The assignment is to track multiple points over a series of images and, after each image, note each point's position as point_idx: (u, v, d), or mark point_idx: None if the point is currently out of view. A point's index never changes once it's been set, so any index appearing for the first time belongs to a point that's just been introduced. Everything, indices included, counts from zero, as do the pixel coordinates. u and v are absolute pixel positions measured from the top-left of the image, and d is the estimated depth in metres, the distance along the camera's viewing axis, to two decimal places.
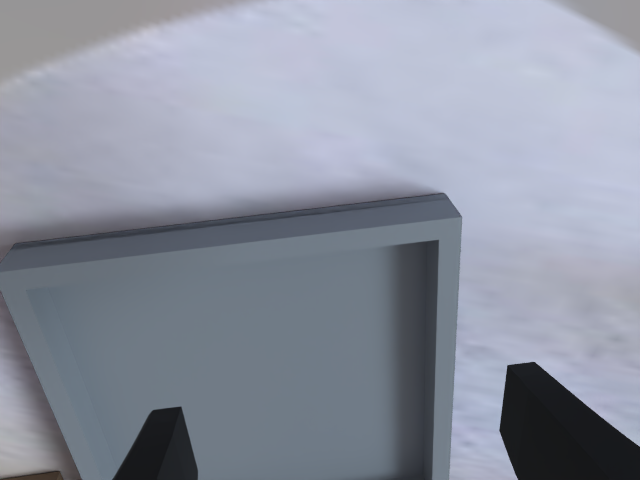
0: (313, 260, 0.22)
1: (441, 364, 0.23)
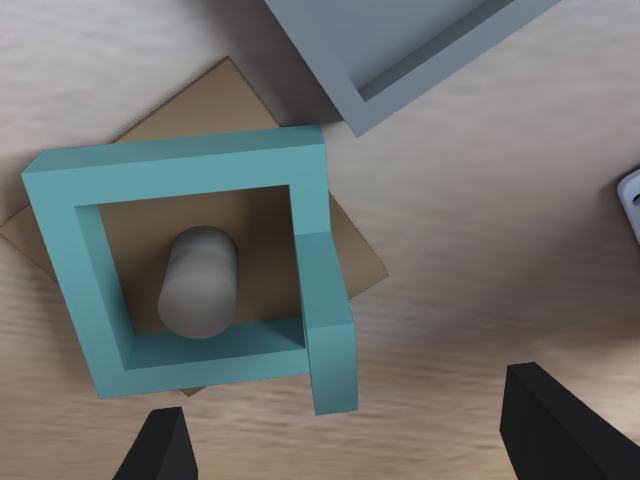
0: None
1: None
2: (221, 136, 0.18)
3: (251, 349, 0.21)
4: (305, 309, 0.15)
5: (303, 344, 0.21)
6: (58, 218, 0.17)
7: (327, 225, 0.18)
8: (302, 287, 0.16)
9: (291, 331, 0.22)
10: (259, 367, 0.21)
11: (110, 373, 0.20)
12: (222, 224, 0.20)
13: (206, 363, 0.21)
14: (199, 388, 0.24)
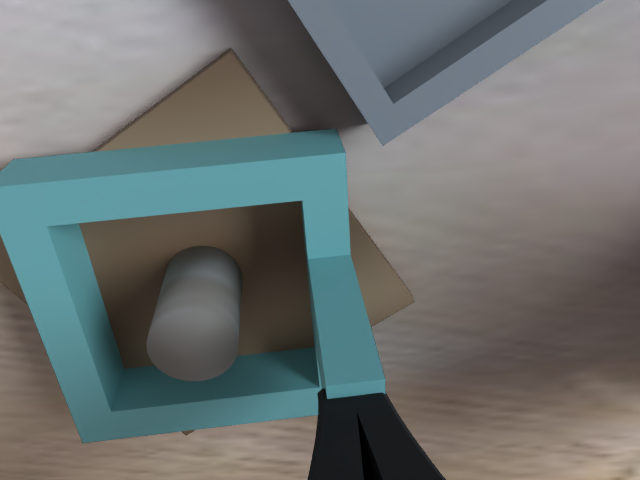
0: None
1: None
2: (222, 143, 0.16)
3: (257, 387, 0.18)
4: (323, 358, 0.12)
5: (316, 381, 0.18)
6: (29, 240, 0.15)
7: (347, 248, 0.16)
8: (319, 328, 0.13)
9: (302, 365, 0.19)
10: (266, 407, 0.18)
11: (94, 415, 0.18)
12: (223, 244, 0.17)
13: (204, 404, 0.18)
14: None
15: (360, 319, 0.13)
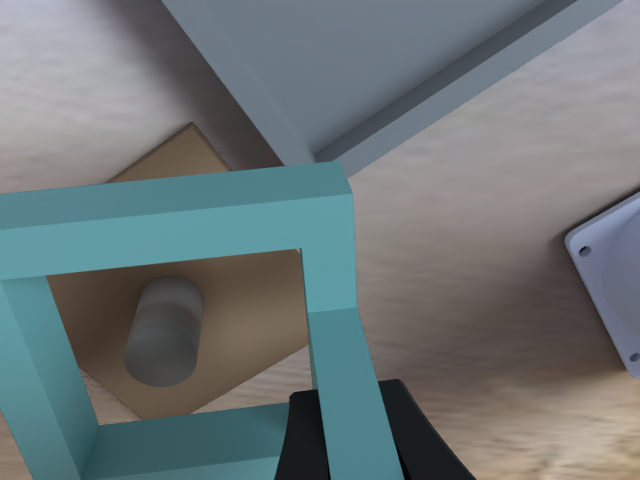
0: None
1: None
2: (208, 178, 0.13)
3: (249, 450, 0.16)
4: (329, 453, 0.10)
5: None
6: None
7: (353, 300, 0.13)
8: (322, 409, 0.11)
9: None
10: (259, 473, 0.16)
11: None
12: (188, 274, 0.21)
13: (189, 470, 0.16)
14: None
15: (372, 397, 0.11)
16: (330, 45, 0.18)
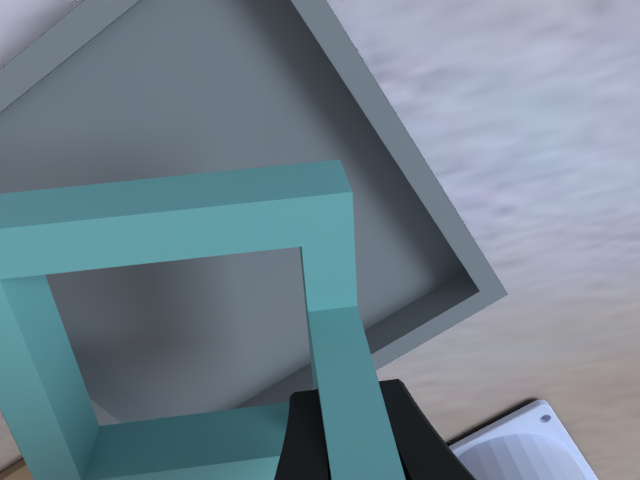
0: (147, 51, 0.17)
1: (365, 100, 0.17)
2: (208, 178, 0.13)
3: (249, 450, 0.16)
4: (329, 451, 0.10)
5: None
6: None
7: (353, 299, 0.13)
8: (323, 407, 0.11)
9: None
10: (260, 473, 0.16)
11: None
12: None
13: (190, 471, 0.16)
14: None
15: (372, 395, 0.11)
16: (183, 375, 0.23)
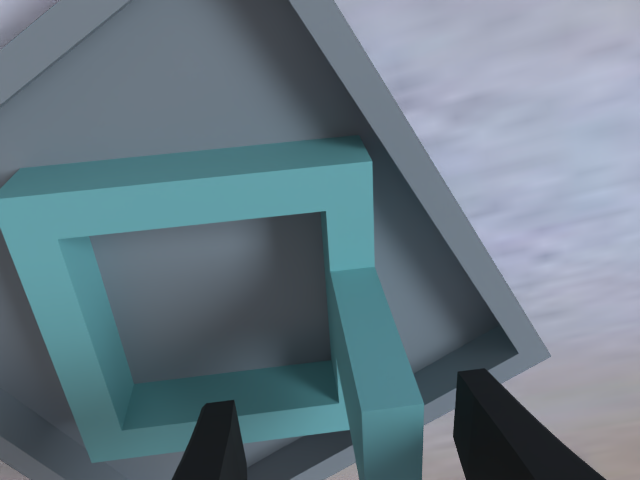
0: (122, 76, 0.14)
1: (390, 137, 0.14)
2: (240, 150, 0.15)
3: (273, 403, 0.17)
4: (356, 381, 0.11)
5: (335, 397, 0.18)
6: (38, 254, 0.14)
7: (371, 260, 0.15)
8: (348, 347, 0.12)
9: (320, 379, 0.18)
10: (283, 424, 0.17)
11: (104, 435, 0.17)
12: None
13: None
14: None
15: (391, 337, 0.12)
16: None
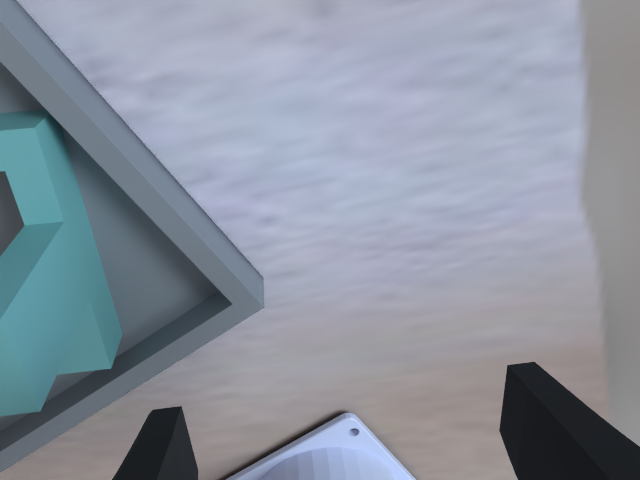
0: None
1: (55, 108, 0.16)
2: None
3: None
4: None
5: None
6: None
7: (59, 215, 0.17)
8: None
9: None
10: None
11: None
12: None
13: None
14: None
15: (24, 272, 0.15)
16: None
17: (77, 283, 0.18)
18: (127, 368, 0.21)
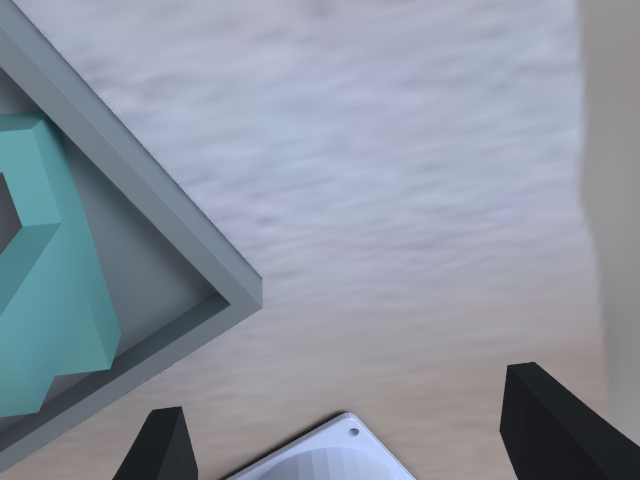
0: None
1: (52, 109, 0.16)
2: None
3: None
4: None
5: None
6: None
7: (57, 216, 0.17)
8: None
9: None
10: None
11: None
12: None
13: None
14: None
15: (21, 274, 0.15)
16: None
17: (76, 284, 0.18)
18: (126, 369, 0.21)
